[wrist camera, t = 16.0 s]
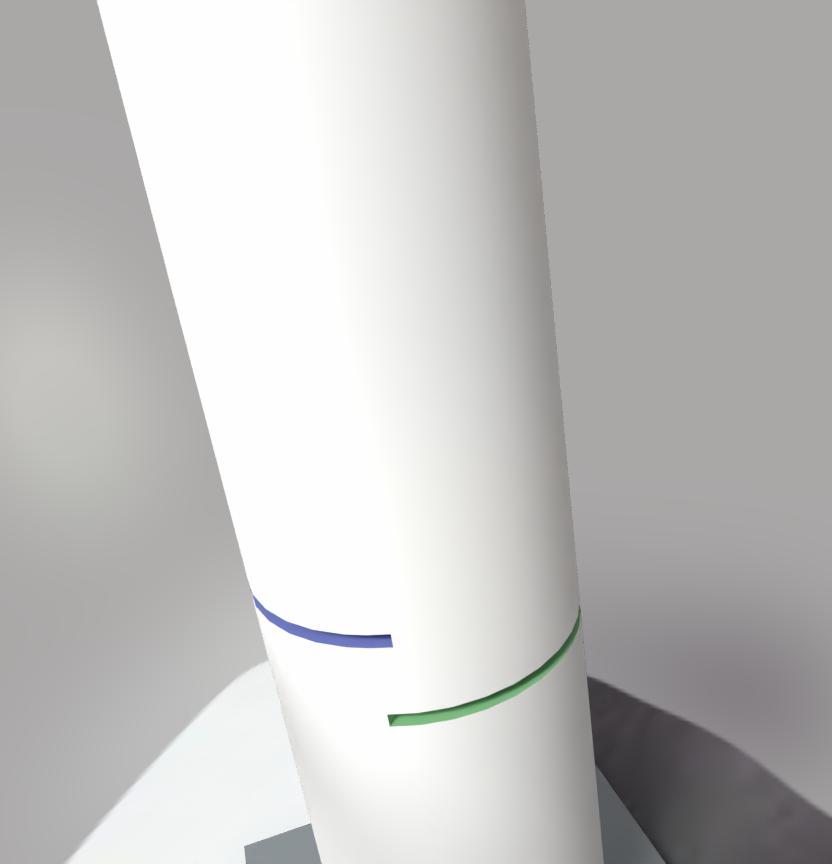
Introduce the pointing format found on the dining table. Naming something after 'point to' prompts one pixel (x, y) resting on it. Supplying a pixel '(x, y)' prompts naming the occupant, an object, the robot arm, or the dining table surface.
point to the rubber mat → (621, 835)
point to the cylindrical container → (381, 402)
